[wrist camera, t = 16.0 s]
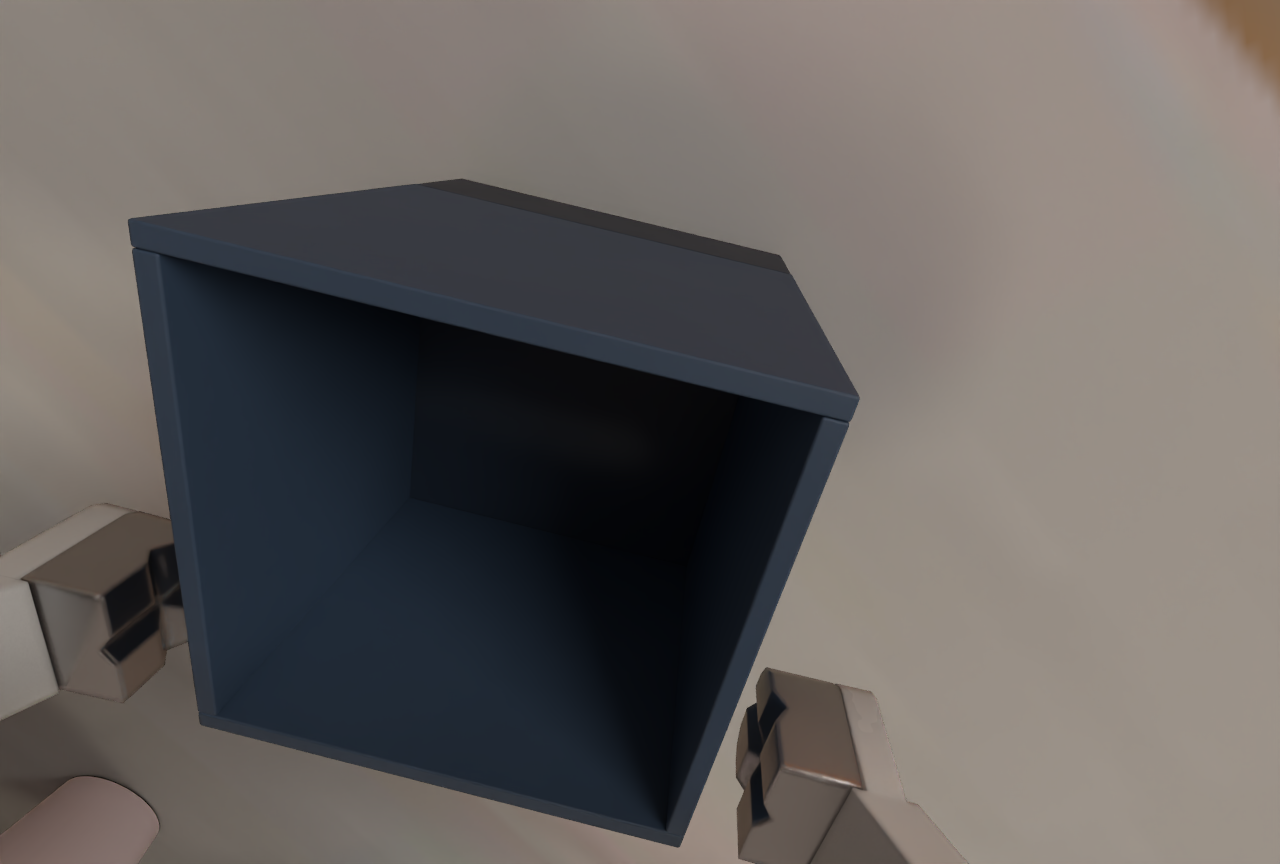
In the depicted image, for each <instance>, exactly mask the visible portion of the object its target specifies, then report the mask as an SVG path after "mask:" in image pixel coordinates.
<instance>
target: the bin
mask: <svg viewBox="0 0 1280 864" xmlns="http://www.w3.org/2000/svg"><path fill="white" fill-rule="evenodd" d="M128 226H129V233H130V240H131V245H132V246H133V247H136V248H133V250H132V254H133V261H134V268H135V275H136V282H137V289H138V295H139V302H140V309H141V316H142V323H143V330H144V337H145V344H146V351H147V358H148V365H149V372H150V379H151V386H152V393H153V400H154V407H155V414H156V421H157V428H158V435H159V442H160V449H161V456H162V463H163V470H164V477H165V484H166V491H167V498H168V505H169V511H170V518H171V525H172V532H173V539H174V546H175V553H176V560H177V567H178V574H179V581H180V588H181V595H182V602H183V609H184V616H185V623H186V630H187V637H188V644H189V651H190V658H191V665H192V672H193V679H194V686H195V693H196V700H197V707H198V711H199V721H200V724H201V725H203V726H207V727H211V728H215V729H219V730H222V731H226V732H230V733H234V734H238V735H242V736H246V737H250V738H254V739H257V740H261V741H265V742H269V743H273V744H277V745H281V746H285V747H289V748H292V749H296V750H300V751H304V752H308V753H312V754H316V755H320V756H324V757H327V758H331V759H335V760H339V761H343V762H347V763H351V764H355V765H359V766H362V767H366V768H370V769H374V770H378V771H382V772H386V773H390V774H394V775H397V776H401V777H405V778H409V779H413V780H417V781H421V782H425V783H429V784H432V785H436V786H440V787H444V788H448V789H452V790H456V791H460V792H464V793H467V794H471V795H475V796H479V797H483V798H487V799H491V800H495V801H499V802H502V803H506V804H510V805H514V806H518V807H522V808H526V809H530V810H534V811H538V812H541V813H545V814H549V815H553V816H557V817H561V818H565V819H569V820H573V821H576V822H580V823H584V824H588V825H592V826H596V827H600V828H604V829H608V830H611V831H615V832H619V833H623V834H627V835H631V836H635V837H639V838H643V839H646V840H650V841H654V842H658V843H662V844H666V845H670V846H674V847H680V845H681V843H682V840H683V838H684V835H685V833H686V830H687V828H688V825H689V823H690V820H691V818H692V815H693V813H694V810H695V808H696V805H697V803H698V800H699V798H700V795H701V793H702V790H703V788H704V785H705V783H706V780H707V778H708V775H709V773H710V770H711V768H712V765H713V763H714V760H715V758H716V756H717V753H718V751H719V748H720V746H721V743H722V741H723V738H724V736H725V733H726V731H727V728H728V726H729V723H730V721H731V718H732V716H733V713H734V711H735V708H736V706H737V703H738V701H739V698H740V696H741V693H742V691H743V688H744V686H745V683H746V681H747V678H748V676H749V673H750V671H751V668H752V666H753V663H754V661H755V658H756V656H757V653H758V651H759V648H760V646H761V644H762V641H763V639H764V636H765V634H766V631H767V629H768V626H769V624H770V621H771V619H772V616H773V614H774V611H775V609H776V606H777V604H778V601H779V599H780V596H781V594H782V591H783V589H784V586H785V584H786V581H787V579H788V576H789V574H790V571H791V569H792V566H793V564H794V561H795V559H796V556H797V554H798V551H799V549H800V546H801V544H802V541H803V539H804V536H805V534H806V532H807V529H808V527H809V524H810V522H811V519H812V517H813V514H814V512H815V509H816V507H817V504H818V502H819V499H820V497H821V494H822V492H823V489H824V487H825V484H826V482H827V479H828V477H829V474H830V472H831V469H832V467H833V464H834V462H835V459H836V457H837V454H838V452H839V449H840V447H841V444H842V442H843V439H844V437H845V434H846V432H847V429H848V427H849V422H850V421H851V419H852V417H853V415H854V412H855V410H856V407H857V405H858V402H859V400H860V397H859V395H858V393H857V391H856V390H855V388H854V386H853V384H852V382H851V381H850V379H849V377H848V375H847V373H846V372H845V370H844V368H843V366H842V364H841V363H840V361H839V359H838V357H837V355H836V354H835V352H834V350H833V348H832V347H831V345H830V343H829V341H828V339H827V338H826V336H825V334H824V332H823V330H822V329H821V327H820V325H819V323H818V321H817V320H816V318H815V316H814V314H813V312H812V311H811V309H810V307H809V305H808V303H807V302H806V300H805V298H804V296H803V294H802V293H801V291H800V289H799V287H798V285H797V284H796V282H795V280H794V278H793V276H792V275H791V274H790V272H789V271H788V269H787V267H786V265H785V263H784V261H783V260H782V258H781V256H780V255H777V254H772V253H768V252H764V251H760V250H756V249H752V248H748V247H743V246H739V245H735V244H731V243H727V242H723V241H718V240H714V239H710V238H706V237H702V236H698V235H694V234H689V233H685V232H681V231H677V230H673V229H669V228H664V227H660V226H656V225H652V224H648V223H644V222H640V221H635V220H631V219H627V218H623V217H619V216H615V215H610V214H606V213H602V212H598V211H594V210H590V209H586V208H581V207H577V206H573V205H569V204H565V203H561V202H556V201H552V200H548V199H544V198H540V197H536V196H532V195H527V194H523V193H519V192H515V191H511V190H507V189H502V188H498V187H494V186H490V185H486V184H482V183H478V182H473V181H469V180H465V179H456V180H447V181H439V182H431V183H423V184H411V185H402V186H394V187H386V188H378V189H369V190H361V191H353V192H345V193H336V194H328V195H320V196H312V197H303V198H295V199H287V200H279V201H270V202H262V203H254V204H245V205H237V206H229V207H221V208H212V209H204V210H196V211H188V212H179V213H171V214H163V215H155V216H146V217H138V218H131V219H129V220H128Z"/></svg>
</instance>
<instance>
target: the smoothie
mask: <svg viewBox="0 0 1280 864" xmlns="http://www.w3.org/2000/svg"><path fill="white" fill-rule="evenodd" d="M158 832H159V822H158V819H157V817H156V815H155V813H154V811H153V810H152V809H151V808H150V806H149V805H148V804H147V803H146V802H145V801H144V800H142V799H141V798H140V797H139V796H137V795H136V794H135V793H133V792H132V791H130V790H128V789H127V788H125V787H123V786H121V785H119V784H116V783H114V782H111V781H109V780H105V779H102V778H97V777H90V776H81V777H75V778H72V779H70V780H68V781H67V782H65V783H64V784H63V785H62V786H61V787H59V788H58V789H57V790H56V791H54V792H53V793H52V794H51V795H49V796H48V797H47V798H46V799H44V800H43V801H42V802H41V803H40V804H38V805H37V806H36V807H35V808H33V809H32V810H31V811H30V812H28V813H27V814H26V815H25V816H23V817H22V818H21V819H20V820H18V821H17V822H16V823H15V824H14V825H12V826H11V827H10V828H9V829H7V830H6V831H5V832H4V833H2V834H1V835H0V864H138V862H139V861H140V859H141V858H142V856H143V855H144V853H145V852H146V850H147V849H148V847H149V846H150V845H151V843H152V842H153V840H154V839H155V837H156V836H157V834H158Z"/></svg>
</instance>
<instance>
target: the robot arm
mask: <svg viewBox="0 0 1280 864" xmlns="http://www.w3.org/2000/svg"><path fill="white" fill-rule="evenodd" d="M187 642H188V637H187V630H186V623H185V616H184V609H183V602H182V595H181V588H180V581H179V574H178V567H177V560H176V553H175V546H174V539H173V532H172V525H171V520H170V519H167V518H163V517H159V516H156V515H152V514H148V513H145V512H141V511H139V512H138V511H134V510H131V509H127V508H123V507H120V506H116V505H113V504H109V503H103V504H96V505H91V506H89V507H87V508H85V509H83V510H82V511H80V512H78V513H76V514H75V515H73V516H71V517H69V518H67V519H66V520H64V521H62V522H60V523H59V524H57V525H55V526H53V527H51V528H50V529H48V530H46V531H44V532H43V533H41V534H39V535H37V536H35V537H34V538H32V539H30V540H28V541H27V542H25V543H23V544H21V545H19V546H18V547H16V548H14V549H12V550H10V551H9V552H7V553H5V554H3V555H2V556H0V721H1V720H3V719H5V718H7V717H10V716H12V715H14V714H16V713H18V712H20V711H22V710H24V709H26V708H29V707H31V706H33V705H35V704H37V703H39V702H41V701H43V700H45V699H48V698H50V697H52V696H54V695H56V694H58V693H59V689H61V690H66V691H70V692H75V693H79V694H84V695H88V696H93V697H97V698H102V699H106V700H111V701H116V702H120V703H124V702H125V701H126V700H128V699H129V698H130V697H131V696H132V695H133V694H134V693H135V692H136V691H137V690H138V689H139V688H141V687H142V686H143V685H144V684H145V683H146V682H147V681H148V680H149V679H150V678H151V677H152V676H154V675H155V674H156V673H157V672H158V671H159V670H160V669H161V668H162V667H163V666H164V665H165V661H166V655H167V650H169V649H171V648H174V647H177V646H179V645H182V644H184V643H187ZM756 698H757V703H755V704H753V705H752V706H750V707H748V708H747V709H746V712H745V715H744V718H743V720H742V723H741V727H740V732H739V736H738V741H737V750H736V778H737V780H738V781H739V783H740V785H741V786H742V788H743V789H744V793H743V795H742V797H741V800H740V802H739V805H738V807H737V830H738V859H741V860H745V861H748V862H752V863H755V864H968V862H967V861H966V860H965V859H964V858H963V856H962V855H961V854H960V853H959V852H958V851H957V849H956V848H955V847H954V846H953V845H952V844H951V842H950V841H949V840H948V839H947V838H946V837H945V835H944V834H943V833H942V832H941V831H940V829H939V828H938V827H937V826H936V825H935V824H934V822H933V821H932V820H931V819H930V818H929V817H928V815H927V814H926V813H925V812H924V811H923V810H922V808H921V807H920V806H919V805H918V804H914V803H911V802H907V800H906V797H905V793H904V790H903V787H902V783H901V780H900V776H899V773H898V770H897V766H896V763H895V759H894V756H893V753H892V749H891V746H890V742H889V739H888V736H887V732H886V729H885V725H884V722H883V719H882V715H881V712H880V708H879V705H878V702H877V698H876V697H875V696H874V695H873V693H872V692H871V691H866V690H862V689H858V688H853V687H849V686H845V685H840V684H833V683H830V682H826V681H822V680H818V679H814V678H809V677H805V676H801V675H797V674H793V673H788V672H784V671H780V670H776V669H771V668H767V667H766V668H765V669H764V671H763V672H762V673H761V675H760V677H759V680H758V682H757V685H756Z"/></svg>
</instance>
